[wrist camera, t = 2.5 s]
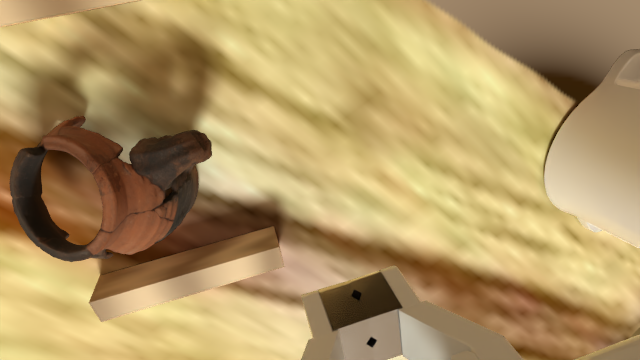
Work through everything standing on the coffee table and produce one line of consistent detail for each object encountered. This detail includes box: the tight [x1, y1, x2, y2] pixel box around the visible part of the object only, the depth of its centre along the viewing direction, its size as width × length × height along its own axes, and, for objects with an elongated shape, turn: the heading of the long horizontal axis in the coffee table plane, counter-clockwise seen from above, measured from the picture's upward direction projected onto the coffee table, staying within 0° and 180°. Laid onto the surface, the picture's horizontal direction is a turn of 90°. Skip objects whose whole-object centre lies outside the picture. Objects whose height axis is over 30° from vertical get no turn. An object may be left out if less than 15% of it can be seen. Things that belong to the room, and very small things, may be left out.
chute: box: [0, 0, 285, 322], centre depth 25 cm, size 14×22×3 cm, turn 10°
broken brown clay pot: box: [10, 116, 212, 262], centre depth 24 cm, size 12×10×8 cm
